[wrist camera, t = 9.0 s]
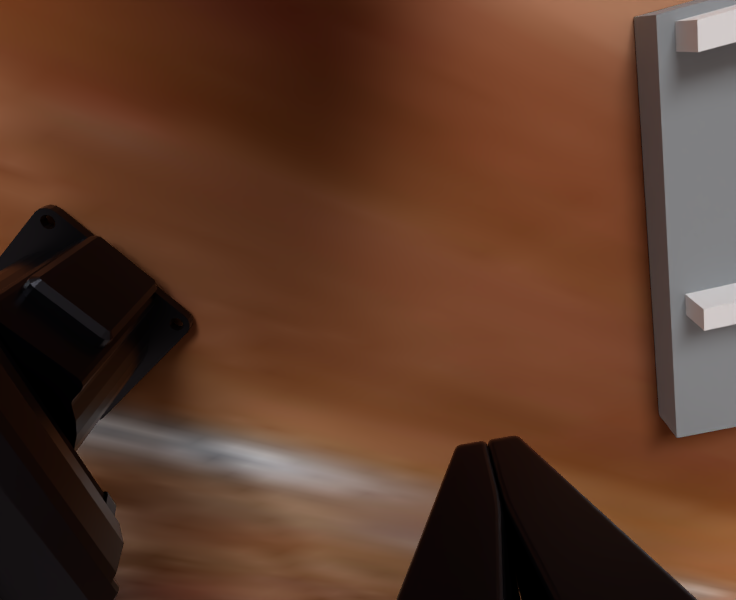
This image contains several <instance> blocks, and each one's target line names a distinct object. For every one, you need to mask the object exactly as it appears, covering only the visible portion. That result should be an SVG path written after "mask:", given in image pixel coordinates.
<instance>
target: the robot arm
mask: <svg viewBox="0 0 736 600" xmlns="http://www.w3.org/2000/svg"><path fill="white" fill-rule="evenodd" d="M47 215H49V216H51V217H52V218H53V219H54V220H55V226H53V225H51V224H50V223H49V222H48V221H47V218H46V216H47ZM173 318H178V319H180V320H181V321H182V322H183V325H177V324H175V323H174V321H173ZM192 324H193V319H192V316H191V314H190V313H189V312H188V311H187V310H186V309H185V308H183V307H182V306H181V305H180V304H178V303H177V302H176V301H175V300H173V299H172V298H171V297H170V296H168V295H167V294H166V293H165V292H164V291H162V290H161V289H160V288H159V287H157V286H156V283H155V281H154V280H153V279H152V278H151V277H149V276H148V275H147V274H146V273H144V272H143V271H142V270H141V269H140V268H138V267H137V266H136V265H135V264H133V263H132V262H131V261H130V260H128V259H127V258H126V257H125V256H124V255H122V254H121V253H120V252H119V251H117V250H116V249H115V248H114V247H112V246H111V245H110V244H109V243H108V242H106V241H105V240H104V239H103V238H101V237H99V236H94V235H93V234H92V233H91V232H89V231H88V230H87V229H86V228H85V227H83V226H82V225H81V224H80V223H78V222H77V221H76V220H75V219H73V218H72V217H71V216H70V215H68V214H67V213H66V212H65V211H64V210H62V209H61V208H59V207H57V206H54V205H47V206H44V207H42V208H40V209H38V210H37V211H36V212H35V213H34V214H33V215H32V217H31V218H30V219H29V220H28V222H27V223H26V224H25V226H24V227H23V228H22V229H21V231H20V232H19V233H18V235H17V236H16V237H15V238H14V240H13V241H12V242H11V244H10V245H9V246H8V247H7V249H6V250H5V251H4V253H3V254H2V255H1V256H0V600H115V598H116V595H117V593H118V590H119V585H118V583H117V582H116V580H115V579H114V576H115V574H116V572H117V568H118V564H119V560H120V556H121V552H122V548H123V544H124V543H123V538H122V534H121V529H120V524H119V522H118V520H117V519H116V518H115V511H116V504H115V503H114V501H113V500H112V498H111V497H110V495H109V494H108V492H106V491H105V492H103V491H102V490H101V488H100V487H99V485H98V484H97V482H96V481H95V479H94V478H93V476H92V475H91V473H90V472H89V470H88V469H87V468H86V466H85V465H84V463H83V462H82V460H81V459H80V457H79V456H78V454H77V453H76V451H77V449H78V448H79V446H80V445H81V444H82V442H83V441H84V440H85V438H86V437H87V436H88V434H89V433H90V432H91V430H92V429H93V427H94V426H95V425H96V423H97V422H98V421H99V420H100V419H102V418H103V417H104V416H105V415H106V414H107V413H108V412H109V411H110V410H111V409H112V408H113V407H114V406H115V405H116V404H117V403H118V402H119V401H120V400H121V399H122V398H123V397H124V396H125V395H126V394H127V393H128V392H129V391H130V390H131V389H132V388H133V387H134V386H135V385H136V384H137V383H138V382H139V381H140V380H141V379H142V378H143V377H144V376H145V375H146V374H147V373H148V372H149V371H150V370H151V369H152V368H153V367H154V366H155V365H156V364H157V363H158V362H159V361H160V360H161V359H162V358H163V357H164V356H165V355H166V354H167V353H168V352H169V351H170V350H171V349H172V348H173V347H174V346H175V345H176V344H177V342H178V341H179V340H180V339H181V338H182V337H183V336H184V335H185V334H186V333H187V332H188V331H189V329H190V328H191V326H192ZM518 588H519V589H518ZM519 593H520V594H519ZM520 596H521V600H697V599H696V598H695V597H694V596H693V595H692V594H690V593H689V592H688V591H687V590H686V589H685V588H684V587H683V586H682V585H681V584H680V583H678V582H677V581H676V580H675V579H674V578H673V577H672V576H671V575H670V574H669V573H667V572H666V571H665V570H664V569H663V568H662V567H661V566H660V565H659V564H658V563H657V562H655V561H654V560H653V559H652V558H651V557H650V556H649V555H648V554H647V553H646V552H644V551H643V550H642V549H641V548H640V547H639V546H638V545H637V544H636V543H635V542H634V541H632V540H631V539H630V538H629V537H628V536H627V535H626V534H625V533H624V532H623V531H621V530H620V529H619V528H618V527H617V526H616V525H615V524H614V523H613V522H612V521H610V520H609V519H608V518H607V517H606V516H605V515H604V514H603V513H602V512H601V511H600V510H598V509H597V508H596V507H595V506H594V505H593V504H592V503H591V502H590V501H589V500H587V499H586V498H585V497H584V496H583V495H582V494H581V493H580V492H579V491H578V490H577V489H575V488H574V487H573V486H572V485H571V484H570V483H569V482H568V481H567V480H566V479H564V478H563V477H562V476H561V475H560V474H559V473H558V472H557V471H556V470H555V469H554V468H552V467H551V466H550V465H549V464H548V463H547V462H546V461H545V460H544V459H543V458H541V457H540V456H539V455H538V454H537V453H536V452H535V451H534V450H533V449H532V448H531V447H529V446H528V445H527V444H526V443H525V442H524V441H523V440H522V439H521V438H519V437H517V436H509V437H503V438H497V439H492V440H490V441H489V442H488V446H487V444H486V443H485V442H483V441H480V442H474V443H468V444H462V445H459V446H457V447H456V449H455V451H454V453H453V456H452V458H451V461H450V463H449V466H448V469H447V471H446V474H445V476H444V479H443V481H442V484H441V487H440V489H439V492H438V494H437V497H436V499H435V502H434V505H433V507H432V510H431V512H430V515H429V517H428V520H427V523H426V525H425V528H424V530H423V533H422V535H421V538H420V541H419V543H418V546H417V548H416V551H415V553H414V556H413V559H412V561H411V564H410V566H409V569H408V571H407V574H406V577H405V579H404V582H403V584H402V587H401V589H400V592H399V595H398V597H397V600H520Z"/></svg>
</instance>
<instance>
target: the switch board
mask: <svg viewBox="0 0 736 600" xmlns="http://www.w3.org/2000/svg"><path fill="white" fill-rule="evenodd" d="M634 28H635V44H636V59H637V75H638V91H639V107H640V122H641V138H642V154H643V170H644V185H645V201H646V217H647V233H648V248H649V264H650V280H651V296H652V312H653V327H654V343H655V359H656V375H657V390H658V406H659V415H660V417H661V418H662V419H663V420H664V422H665V423H666V424H667V426H668V427H669V428H670V430H671V431H672V432H673V434H674V435H675V436H676V438H679V437H685V436H690V435H695V434H700V433H705V432H711V431H716V430H721V429H726V428H731V427H736V0H693V1H690V2H686V3H683V4H679V5H676V6H672V7H668V8H665V9H661V10H658V11H654V12H651V13H647V14H643V15H640V16H636V17H634Z"/></svg>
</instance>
